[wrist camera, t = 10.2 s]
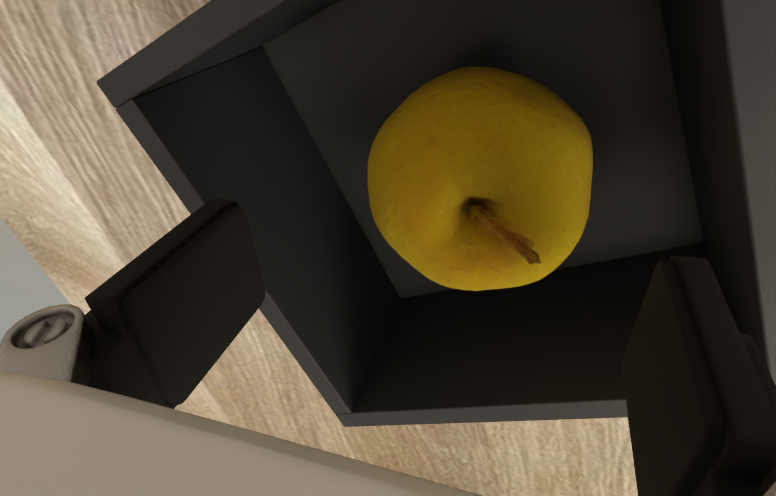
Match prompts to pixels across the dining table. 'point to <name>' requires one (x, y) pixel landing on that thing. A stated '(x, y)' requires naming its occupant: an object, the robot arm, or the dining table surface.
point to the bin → (393, 273)
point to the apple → (482, 179)
